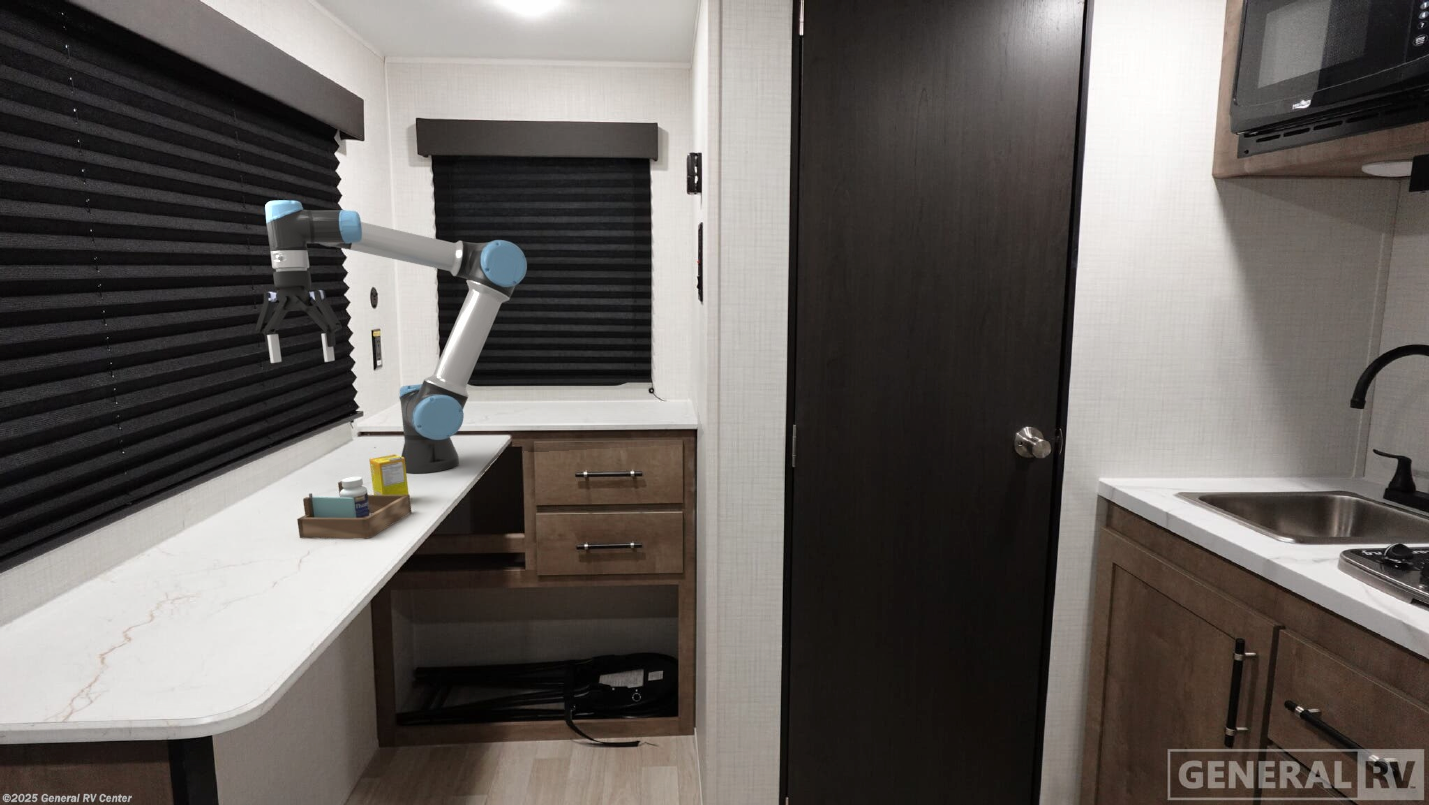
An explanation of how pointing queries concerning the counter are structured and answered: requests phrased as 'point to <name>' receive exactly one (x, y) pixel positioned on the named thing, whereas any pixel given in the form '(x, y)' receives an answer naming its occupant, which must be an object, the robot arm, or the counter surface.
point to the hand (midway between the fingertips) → (302, 361)
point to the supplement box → (389, 475)
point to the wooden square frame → (382, 516)
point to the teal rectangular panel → (333, 507)
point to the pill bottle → (356, 495)
